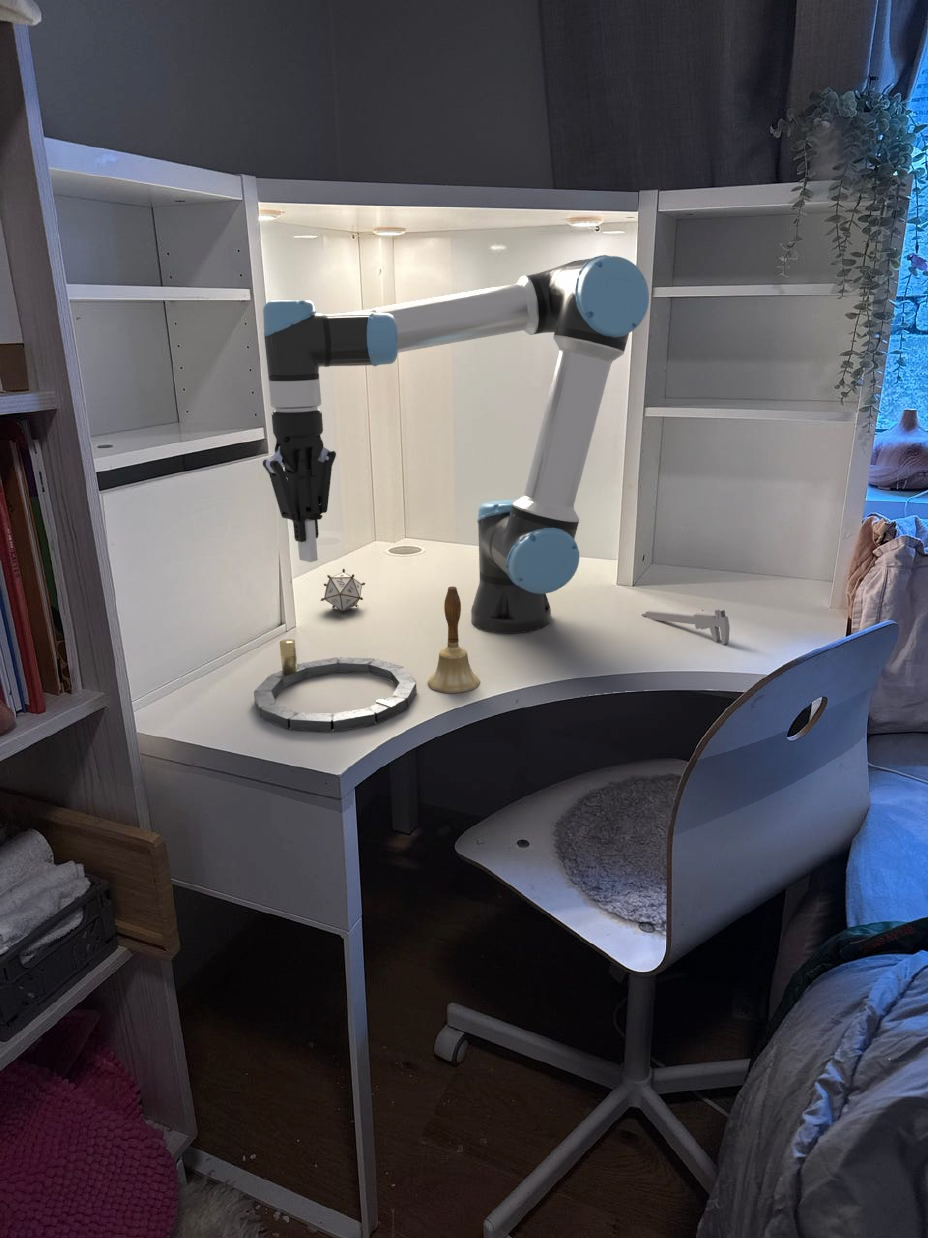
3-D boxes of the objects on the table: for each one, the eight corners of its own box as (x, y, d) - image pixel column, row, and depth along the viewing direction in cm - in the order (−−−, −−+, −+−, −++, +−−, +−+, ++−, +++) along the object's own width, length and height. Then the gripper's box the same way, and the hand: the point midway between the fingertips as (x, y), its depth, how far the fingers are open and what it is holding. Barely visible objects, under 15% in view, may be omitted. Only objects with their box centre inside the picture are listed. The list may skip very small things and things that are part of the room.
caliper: (728, 646, 154) (731, 611, 152) (724, 647, 153) (726, 613, 151) (645, 615, 170) (646, 584, 168) (640, 617, 170) (642, 585, 168)
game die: (355, 628, 178) (378, 594, 173) (317, 621, 173) (338, 586, 168) (347, 596, 184) (368, 562, 178) (309, 588, 179) (330, 554, 174)
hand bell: (478, 672, 145) (476, 578, 140) (481, 692, 137) (478, 594, 132) (427, 674, 145) (423, 580, 140) (427, 694, 137) (423, 596, 132)
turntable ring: (340, 656, 153) (337, 620, 150) (447, 689, 138) (446, 650, 136) (224, 703, 135) (219, 663, 133) (332, 747, 120) (329, 703, 118)
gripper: (312, 403, 141) (323, 548, 148) (245, 411, 131) (260, 565, 139) (345, 406, 136) (354, 554, 144) (278, 414, 127) (292, 573, 134)
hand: (308, 559), depth 141 cm, fingers closed
